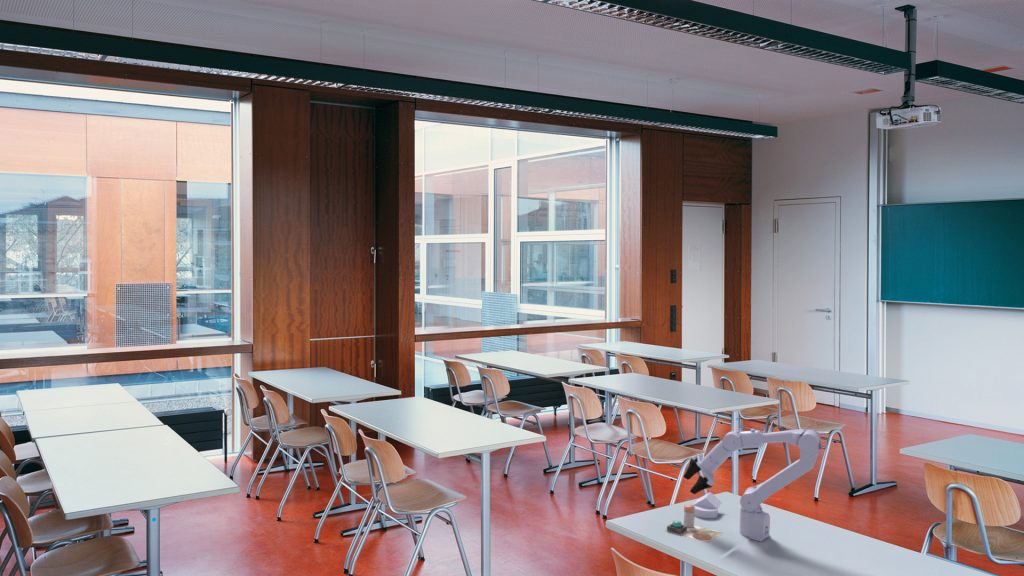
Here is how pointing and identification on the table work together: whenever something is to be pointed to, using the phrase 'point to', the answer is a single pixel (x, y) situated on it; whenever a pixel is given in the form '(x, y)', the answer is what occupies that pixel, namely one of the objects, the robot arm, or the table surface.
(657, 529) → the table surface
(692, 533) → the beige base plate
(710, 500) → the wedge on round base
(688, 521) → the capsule peg
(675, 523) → the button
